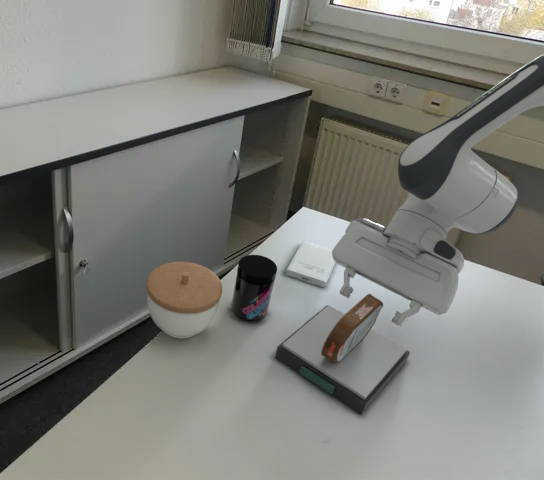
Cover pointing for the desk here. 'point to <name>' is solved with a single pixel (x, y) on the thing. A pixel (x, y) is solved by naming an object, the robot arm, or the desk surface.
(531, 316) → the desk surface
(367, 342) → the scale
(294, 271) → the hard drive
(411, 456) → the desk surface
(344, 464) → the desk surface
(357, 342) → the tin
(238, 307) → the supplement container
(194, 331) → the lidded bowl
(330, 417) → the desk surface
